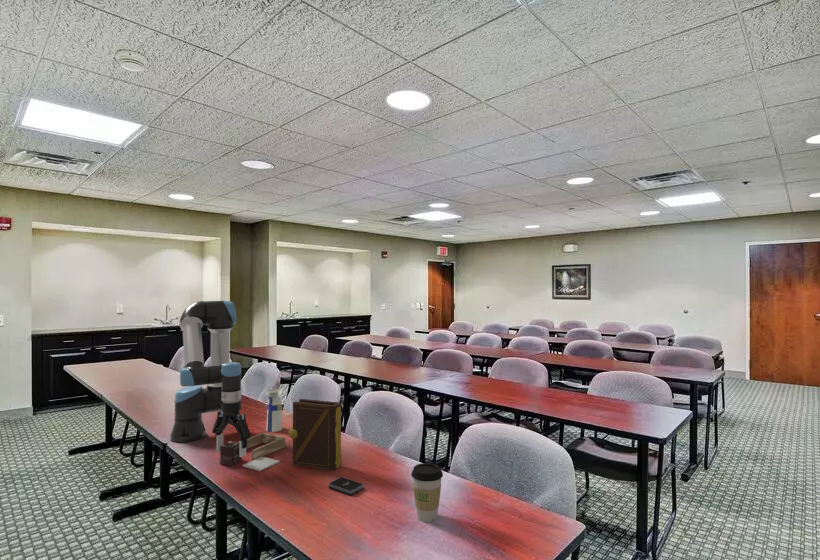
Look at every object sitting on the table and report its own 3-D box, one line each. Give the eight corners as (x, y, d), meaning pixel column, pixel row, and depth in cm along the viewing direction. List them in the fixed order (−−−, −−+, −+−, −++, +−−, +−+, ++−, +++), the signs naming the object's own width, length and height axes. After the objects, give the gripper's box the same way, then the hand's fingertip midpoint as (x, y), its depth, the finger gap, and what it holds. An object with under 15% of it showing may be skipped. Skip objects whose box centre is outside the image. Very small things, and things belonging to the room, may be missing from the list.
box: (232, 465, 179) (233, 447, 179) (219, 464, 180) (219, 446, 180) (241, 459, 184) (241, 442, 185) (228, 458, 186) (229, 441, 186)
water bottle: (287, 427, 226) (287, 378, 226) (275, 433, 218) (275, 381, 218) (274, 425, 229) (274, 377, 230) (262, 430, 222) (262, 380, 222)
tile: (242, 466, 178) (242, 464, 178) (262, 457, 186) (262, 456, 186) (260, 471, 173) (260, 469, 173) (279, 462, 182) (279, 460, 182)
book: (343, 464, 180) (344, 401, 180) (333, 472, 172) (333, 407, 172) (296, 457, 187) (296, 397, 187) (284, 465, 179) (285, 402, 179)
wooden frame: (230, 454, 190) (230, 444, 191) (262, 441, 206) (262, 432, 206) (253, 460, 184) (253, 450, 184) (285, 446, 200) (285, 437, 200)
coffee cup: (410, 509, 143) (410, 462, 143) (440, 508, 144) (440, 461, 144) (412, 526, 133) (412, 475, 133) (445, 524, 134) (445, 474, 134)
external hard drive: (350, 497, 152) (350, 491, 152) (327, 489, 158) (327, 483, 158) (364, 489, 158) (364, 484, 158) (341, 482, 164) (341, 476, 164)
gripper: (203, 399, 185) (203, 451, 185) (245, 406, 173) (245, 461, 173) (218, 396, 192) (218, 445, 191) (260, 402, 180) (260, 455, 179)
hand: (231, 453), depth 182 cm, fingers open, 13 cm apart
